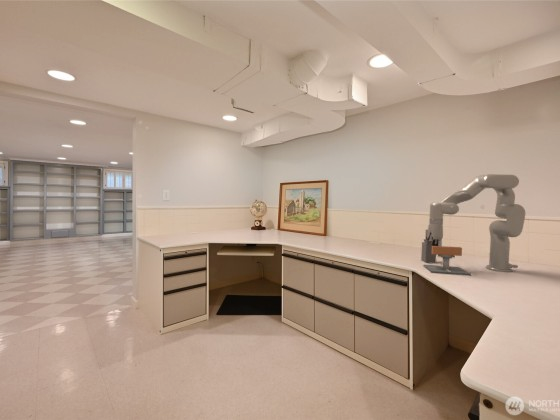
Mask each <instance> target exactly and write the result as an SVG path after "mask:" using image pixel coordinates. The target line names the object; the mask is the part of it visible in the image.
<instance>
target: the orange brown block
mask: <svg viewBox="0 0 560 420" xmlns="http://www.w3.org/2000/svg"><path fill="white" fill-rule="evenodd" d="M462 252H463V247H461V246H445V245H444V246H443V245H442V246H432V254H435V255H436V256H437V257H439V258H442V259H443V258H450V259H453V258H456V257H455V256H457V257H458V256H459V257H462V255H463V253H462Z"/></svg>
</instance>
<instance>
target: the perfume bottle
mask: <svg viewBox="0 0 560 420" xmlns="http://www.w3.org/2000/svg"><path fill="white" fill-rule="evenodd" d="M420 261H421V262H424V264H425V263H426V264H428V263H429V264H436V263H437V262H436V261H437V255H435V254H432V243H431V241H429V239H428V238H427V236H426V239H425V238H423V241H422V242H421V259H420Z"/></svg>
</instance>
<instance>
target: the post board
mask: <svg viewBox="0 0 560 420" xmlns="http://www.w3.org/2000/svg"><path fill="white" fill-rule="evenodd" d="M450 259H451V258H442V265H436V264H435V265H434V264H423V265H422V266H423V267H424V268H425V269H426V270H428V271H429V272H430V273H431V274H443V275H444V274H445V275H457V276H458V275H459V276H472V273H470V272H469V271H467V270H465V269H463V268H462V267H460V266H450V261H451V260H450Z"/></svg>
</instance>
